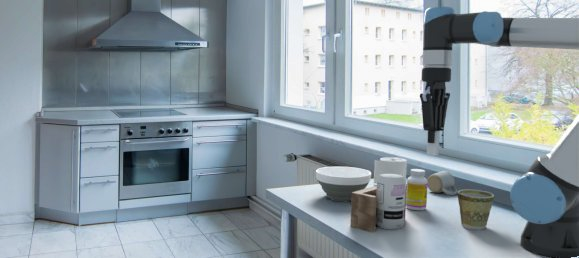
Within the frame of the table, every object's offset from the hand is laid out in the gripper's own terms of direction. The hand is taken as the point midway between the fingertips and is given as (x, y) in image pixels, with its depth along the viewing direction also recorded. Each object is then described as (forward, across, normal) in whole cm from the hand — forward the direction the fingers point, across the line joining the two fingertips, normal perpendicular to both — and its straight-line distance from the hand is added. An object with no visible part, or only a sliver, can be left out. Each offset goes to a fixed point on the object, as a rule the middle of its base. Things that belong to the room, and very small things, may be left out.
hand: (432, 154), depth 134 cm
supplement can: (+23, 0, -12) cm, 26 cm away
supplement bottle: (+23, -23, -17) cm, 36 cm away
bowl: (+22, -16, -42) cm, 50 cm away
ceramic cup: (+23, -19, +5) cm, 30 cm away
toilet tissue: (+22, -49, -42) cm, 68 cm away
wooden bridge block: (+22, 0, -16) cm, 28 cm away
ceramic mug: (+23, -51, -21) cm, 60 cm away
